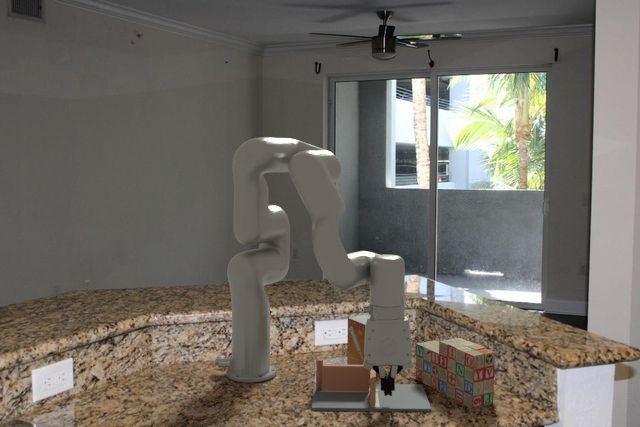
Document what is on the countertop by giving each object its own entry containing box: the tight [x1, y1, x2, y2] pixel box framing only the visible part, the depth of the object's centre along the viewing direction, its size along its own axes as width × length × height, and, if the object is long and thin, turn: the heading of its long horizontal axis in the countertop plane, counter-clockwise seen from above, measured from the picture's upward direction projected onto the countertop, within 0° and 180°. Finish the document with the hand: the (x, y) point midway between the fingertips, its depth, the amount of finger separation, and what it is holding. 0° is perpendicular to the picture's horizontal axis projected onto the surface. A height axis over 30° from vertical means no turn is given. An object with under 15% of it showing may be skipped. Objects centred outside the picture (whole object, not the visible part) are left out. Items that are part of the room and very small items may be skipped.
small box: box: [346, 314, 371, 374], centre depth 170 cm, size 8×6×13 cm
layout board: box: [311, 382, 432, 412], centre depth 150 cm, size 26×15×1 cm, turn 89°
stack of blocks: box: [415, 337, 496, 410], centre depth 154 cm, size 21×6×12 cm, turn 28°
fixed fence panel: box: [315, 358, 370, 391], centre depth 152 cm, size 12×2×7 cm, turn 89°
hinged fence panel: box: [369, 369, 377, 405], centre depth 148 cm, size 10×1×7 cm, turn 175°
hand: (387, 393), depth 144 cm, fingers closed
